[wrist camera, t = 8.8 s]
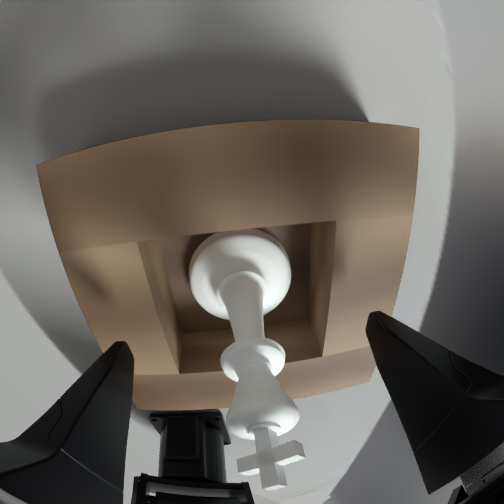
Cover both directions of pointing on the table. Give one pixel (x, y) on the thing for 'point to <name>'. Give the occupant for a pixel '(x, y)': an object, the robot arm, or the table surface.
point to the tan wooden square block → (227, 219)
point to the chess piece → (250, 342)
